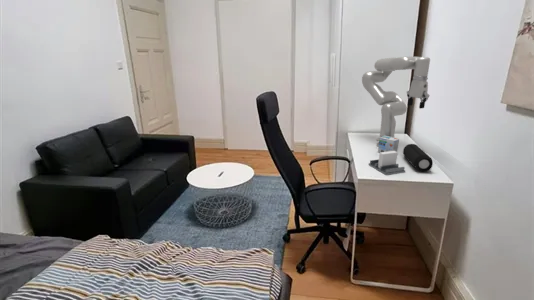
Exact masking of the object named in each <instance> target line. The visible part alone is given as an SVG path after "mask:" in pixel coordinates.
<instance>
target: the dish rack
mask: <svg viewBox="0 0 534 300" xmlns="http://www.w3.org/2000/svg"><path fill="white" fill-rule="evenodd" d="M378 162H379V158H378V159H372V160H369V163H368V166H370V167H371V168H373V169H375V170H376V171H378V172H380V173H382V174H383V175H385V176H390V175H396V174H402V173H406V170H405V168H406V167H405V166H400V165H399V163H396V164H393V165H386V166H380V168H379V167H378ZM399 166H400V167H399Z"/></svg>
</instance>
